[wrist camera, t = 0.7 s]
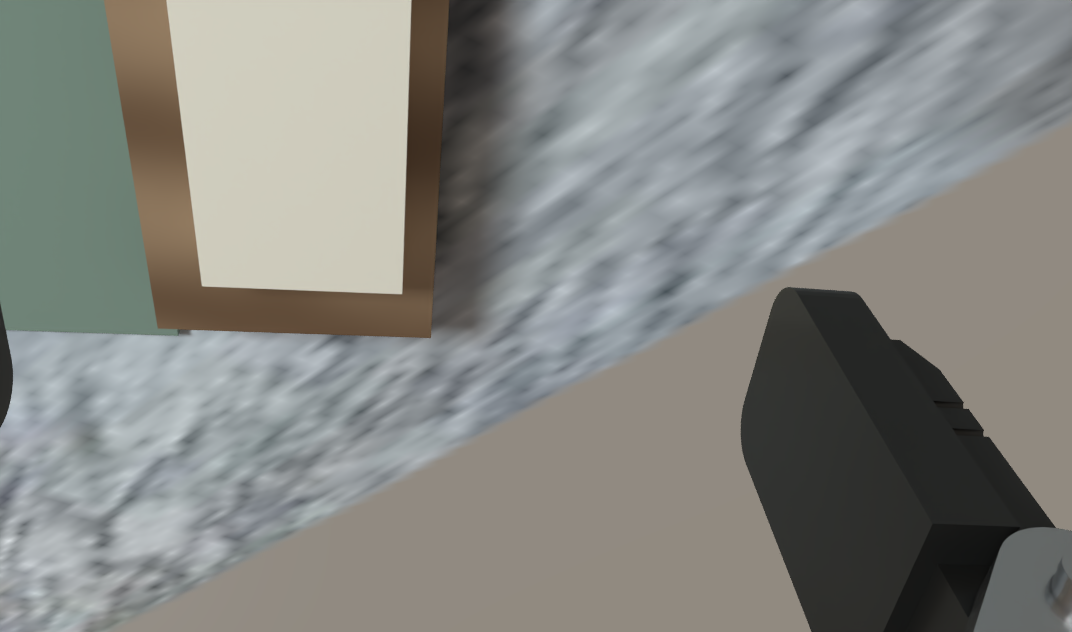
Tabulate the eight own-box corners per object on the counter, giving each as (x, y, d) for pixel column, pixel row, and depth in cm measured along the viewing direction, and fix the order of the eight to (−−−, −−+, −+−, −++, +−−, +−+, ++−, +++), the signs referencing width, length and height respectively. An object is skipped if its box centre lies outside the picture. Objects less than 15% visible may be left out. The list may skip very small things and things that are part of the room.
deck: (99, -231, 24) (68, -213, 22) (457, -193, 26) (458, -173, 24) (173, 284, 34) (157, 328, 32) (431, 294, 35) (430, 337, 33)
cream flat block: (174, -71, 24) (159, -51, 23) (413, -50, 25) (412, -30, 24) (211, 256, 30) (201, 286, 29) (403, 264, 31) (402, 294, 30)
